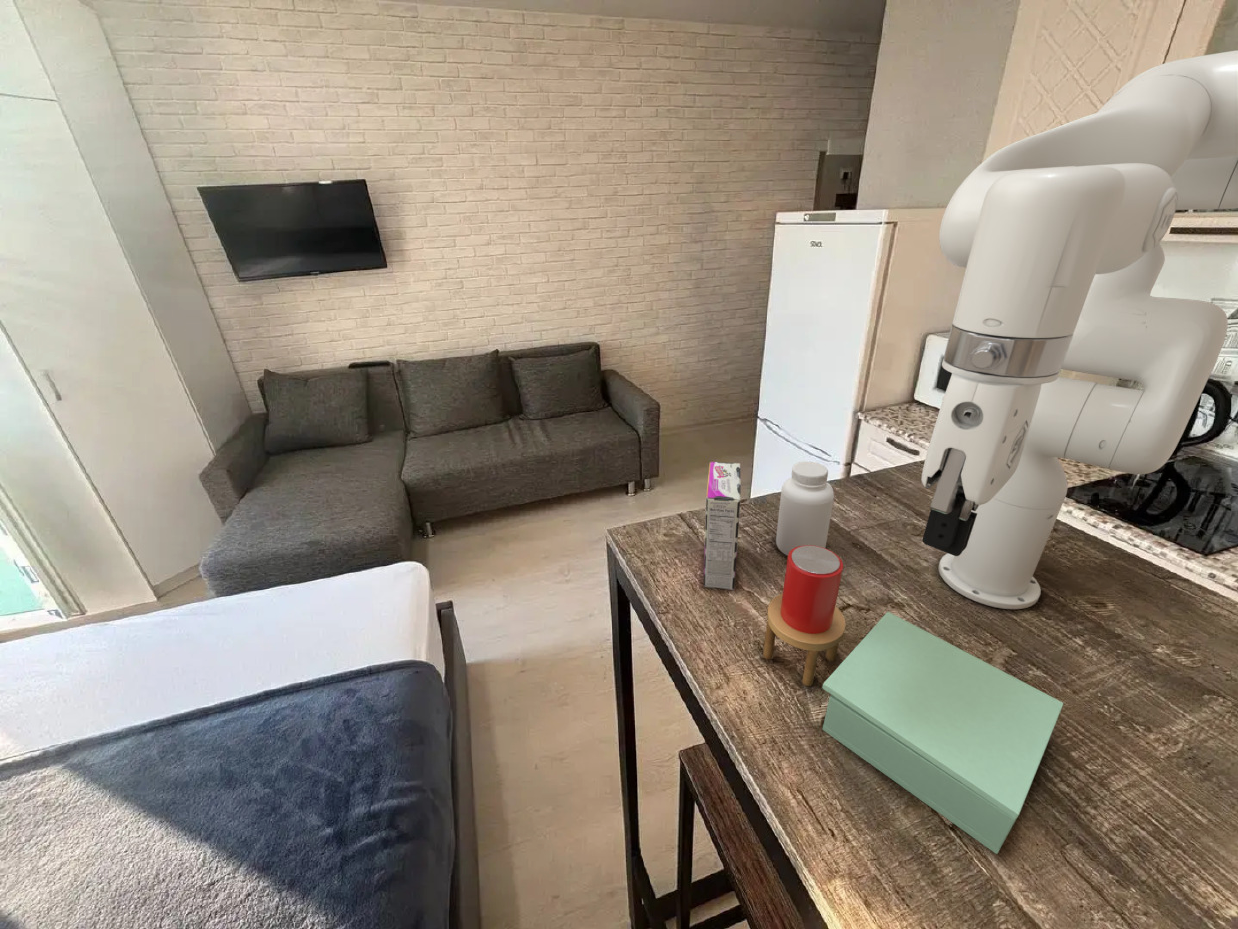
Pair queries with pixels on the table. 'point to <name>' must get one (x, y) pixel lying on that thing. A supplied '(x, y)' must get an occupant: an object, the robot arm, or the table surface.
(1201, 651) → the table surface
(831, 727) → the box
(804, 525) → the pill bottle
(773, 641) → the stool
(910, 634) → the lid
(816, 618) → the soda can
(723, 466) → the candy bar box
